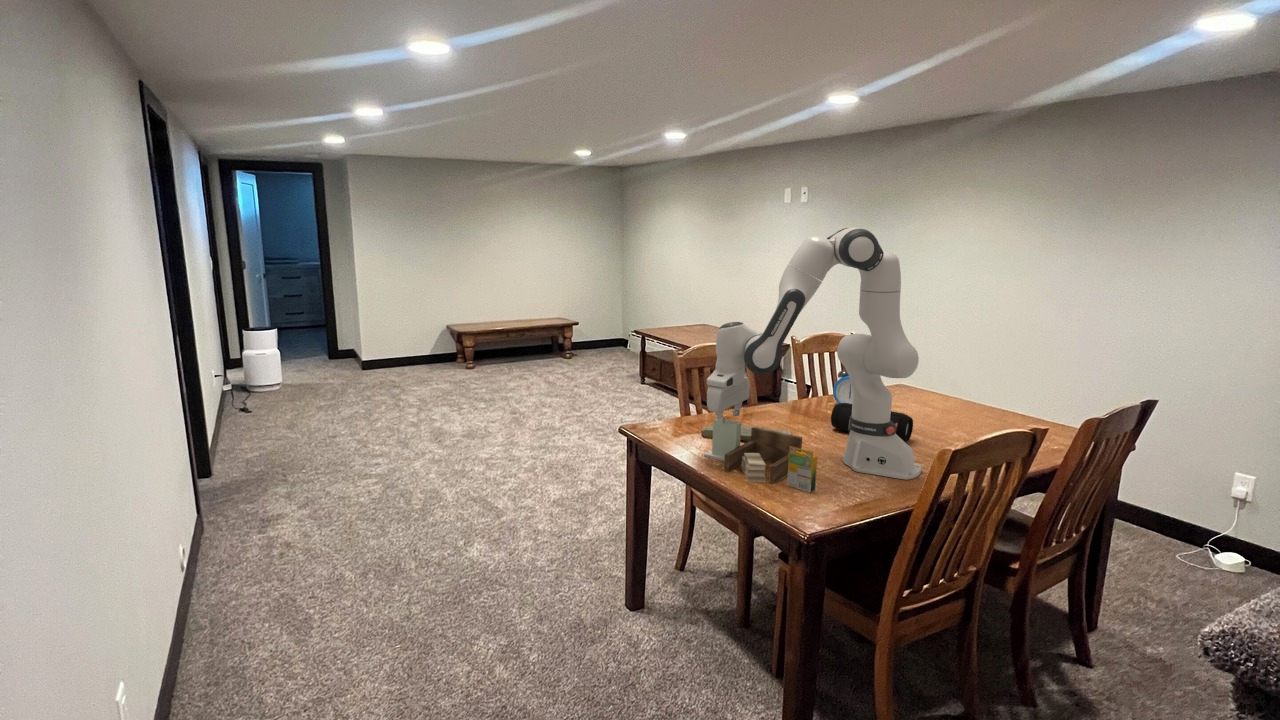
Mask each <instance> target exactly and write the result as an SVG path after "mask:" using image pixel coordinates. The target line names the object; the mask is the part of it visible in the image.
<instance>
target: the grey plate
mask: <svg viewBox="0 0 1280 720" xmlns="http://www.w3.org/2000/svg"><path fill="white" fill-rule="evenodd" d="M705 456H706V457H705ZM703 457H705V458H709V457H710V459H713V458H714V459H713V460H718V461H722V462H724V458H725V457H723V456H718V455H714V454H712V449H711V450H709V451H706V452H705V453H703Z"/></svg>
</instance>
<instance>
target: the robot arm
mask: <svg viewBox="0 0 1280 720" xmlns="http://www.w3.org/2000/svg"><path fill="white" fill-rule="evenodd" d="M839 264H840V265H842V266H844V267H848V268H849V267H850V268H853V269H857V270H858V271H859V274H860V284H859V285H860V286H859V287H860V288H859V289H860V290H859V305H858V306H859V307H858V316H859V318H860V320H861V321H862V322H863V323H864V324H865V325H866V326H867V328H868V330H869V333H870V334H864V333H855V334H854V333H852V334H851V333H850V334H846V335H844V336H843V337H842V338H841V340H840V341H839V343H838V344H837V345H838V346H837V349H836V351H837V352H836V354H837V359H838V361H839V362H840V363H841V364H842V365H843V367H844V369H845V370H847V372H848V375H849V378H850V381H851V385H852V392H853V400H852V416H850V420H849V432H848V440H847V444H846V448H845V451H844V454H843V456H842V459H841V461H842V463H844V465H847V466H848V467H850V468H851V470H852V471H853V472H856V473H857V472H858V473H862V474H863V473H864V474H868V475H874V476H883V477H888V478H894V479H900V480H912V479H916V478H917V477H918V476H919V475H920V474H921V473H922V466H921V465H920V463H917V462H915V455H914V451H913V449H912V447H911V446H910V445H909V444H908V443H907V442H904V441H903V440H902V439H901V438H900V437H899V436H898V435H897V434H896V427H897V423H896V424H894V423H893V422H892V421H891V420H890V416H891V411H892V404H893V395H892V393H891V391H890V390H889V388H888V387H886V385H885V384H884V382H883V380H882V377H885V378H889V379H907V378H909V377H911V376H912V375H913V374H914V373H915V372H916V370H917V368H918V365H919V361H920V360H919V359H920V358H919V353H918V351H917V349H916V347H914V346H913V345H912V344H911V342H910V341H909V339H908V338H907V335H906V334H905V331H904V328H903V325H902V321H901V312H900V311H901V308H900V306H901V289H902V276H901V275H902V273H901V266H900V265H901V264H900V260H899V258H898V256H897V255H896V254H894V253H893V252H891V251H888V250H883V249H882V247H881V245H880V243H879V241H878V239H877V237H876V235H874V234H873V232H871V231H870V230H868V229H864V228H861V227H856V226H855V227H854V226H853V227H852V226H851V227H845V228H842V229H840V230H837V231H836V232H835V233H833V234H832V235H830V236H828V237H827V238H826V237H825V236H821V235H810V236H809V237H807V238H806V239H805V240H804V241H803V242H802V243H801V245H800V246H799V247H798V248H797V250H796V251H795V252H794V254H793V256H792V257H791V259H790V260H789V262H788V264H786V267H785V269H784V271H783V273H782V276H781V279H780V282H779V284H778V299H777V305H776V307H775V310H774V312H773V314H772V316H771V318H770V319H769V321H768V322H767V325H766V327H765V329H764V331H763V332H761V331H757V330H755V329H752V328H750V327H749V326H747V325H746V324H745V323H744V322H741V321H733V322H727V323H724V324H722V325H721V326H720V327H719V328H718V330H717V333H716V340H715V341H716V342H715V353H716V361H715V369H714V370H713V372H712V373H711V374H710V375H709V376H708V377H707V379H706V384H707V385H708V388H707V391H706V407H707V409H708V411H710V412H713V413H715V415H716V418H717V422H718V423H719V424H722V423H724V422H725V419H726V417H724V411H725V410H727V409H728V408H729V409H730V408H731V407H733V406H734V408H733V410H732V416H733V417H738V416H740V414H741V409H742V405H743V402H744V401H746V400H748V399H749V398H750V380H749V377H748V373H747V372H746V371H745V370H746V368H747V369H748V370H749V371H750V372H751V373H753V374H756V375H762V376H764V375H768V374H771V373H773V372H774V371H775V370H776V369H777V368H778V366H779V365H780V363H781V362H780V361H781V357H782V348H783V345H784V342H785V340H786V339H787V337H788V335H789V333H790V331H791V329H792V328H793V326H794V324H795V323H796V320H797V319H798V317H799V315H800V313H802V311H803V309H804V308H806V305H807V304H808V303H809V302H810V300H811V299H812V298H813V297H814V296H815V294H816V292H817V291H818V290H819V288H820V286H821V285H822V283H823V281H824V279H825V277H826V276H827V274H828V272H830V270H831V269H832V268H833V267H834V266H836V265H839ZM881 376H882V377H881Z"/></svg>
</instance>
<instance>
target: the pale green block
mask: <svg viewBox="0 0 1280 720" xmlns="http://www.w3.org/2000/svg"><path fill="white" fill-rule="evenodd" d="M712 425H713V438H712V442H711V443H712V444H711V450H712V454H714V455H718V456H723V457H725V454H726V453H728V452H730V451H732V450H734V449H736V448H738V447H739V446H741V440H740V438H741V425H742V422H740V421H736V420H732V419H731V420H730V419H728V418H727V419H726V418H725V422H724V423H722V424H719V423H718V422H717V417H716V418H715V419H713V422H712Z"/></svg>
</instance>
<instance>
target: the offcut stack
mask: <svg viewBox="0 0 1280 720" xmlns="http://www.w3.org/2000/svg"><path fill="white" fill-rule="evenodd" d="M740 466H741V467H740V468H741V470H742V473H743V474H744V476H745V478H746V481H747V483H766V481H767V476H766V474H765V471H766V463H765V461H764V459H762V457H761V456H760V454H759V453H744V456H742V463H741V465H740Z"/></svg>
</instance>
